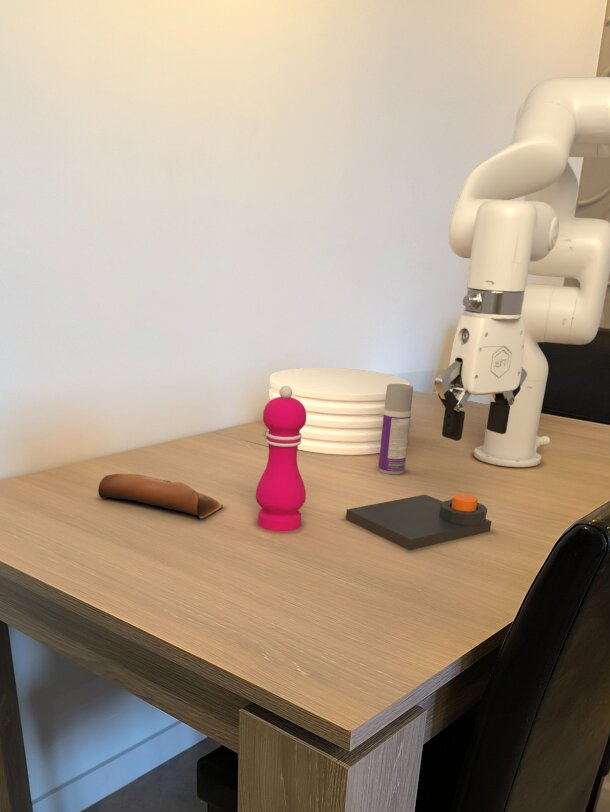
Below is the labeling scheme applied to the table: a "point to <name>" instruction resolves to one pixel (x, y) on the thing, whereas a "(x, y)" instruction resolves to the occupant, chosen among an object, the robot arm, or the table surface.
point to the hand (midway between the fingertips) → (474, 434)
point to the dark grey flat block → (419, 521)
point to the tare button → (464, 502)
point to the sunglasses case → (158, 493)
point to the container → (395, 428)
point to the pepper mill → (282, 465)
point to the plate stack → (338, 407)
